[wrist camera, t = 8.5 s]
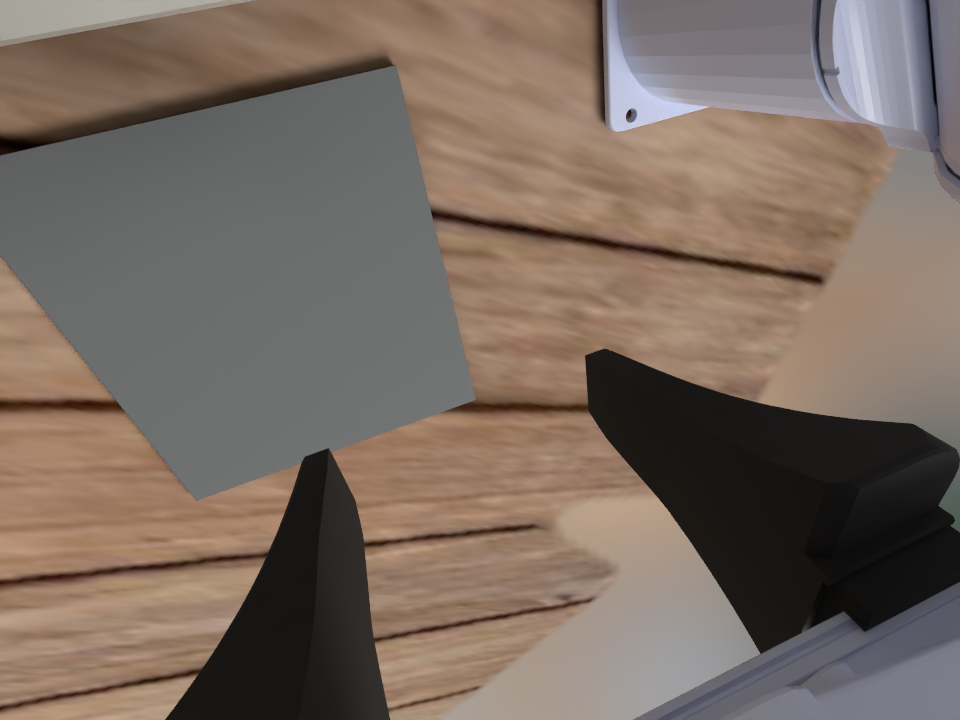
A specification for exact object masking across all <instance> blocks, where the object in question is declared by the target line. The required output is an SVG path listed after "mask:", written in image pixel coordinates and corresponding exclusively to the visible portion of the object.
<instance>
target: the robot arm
mask: <svg viewBox="0 0 960 720" xmlns="http://www.w3.org/2000/svg"><path fill="white" fill-rule="evenodd" d="M602 10H603V49H604V89H605V122H606V126H607V127H608V129H610V130H611V131H615V132H620V131H624V130H628V129H631V128H635V127H639V126H642V125H646V124H649V123H653V122H657V121H660V120H664V119H668V118H671V117H675V116H679V115H682V114H686V113H689V112H693V111H697V110H700V109H704V108H708V107H716V108H725V109H734V110H743V111H753V112H762V113H771V114H780V115H790V116H799V117H808V118H817V119H827V120H836V121H845V122H854V123H863V124H869V125H872V126H876V127H877V128H879V129H880V130H881V131H882V133H883V134H884V136H885V139H886V143H887V145H888V146H890V147H897V148H904V149H911V150H918V151H925V152H933V159H934V168H935V174H936V176H937V178H938V181H939V183H940V185H941V186H942V188H943V189H944V190H945V191H946V192H947V193H948V194H949V195H950V196H951V197H952V198H953V199H955V200H956V201H958V202H959V203H960V0H602ZM630 109H631V113H632V114H631V118H630V119H629V120H628V121H626V113H627V112H628V110H630ZM585 360H586V375H587V391H588V407H589V412H590V414H591V415H592V417H593V418H594V420H595V422H596V423H597V425H598V426H599V428H600V429H601V431H602V432H603V434H604V435H605V437H606V438H607V439H608V441H609V442H610V443H611V444H612V445H613V447H614V448H615V449H616V450H617V451H618V452H619V454H620V455H621V456H622V457H623V458H624V459H625V460H626V462H627V463H628V464H629V465H630V466H631V467H632V468H633V470H634V471H635V472H636V473H637V474H638V475H639V476H640V478H641V479H642V480H643V481H644V482H645V483H646V484H647V486H648V487H649V488H650V489H651V490H652V491H653V492H654V494H655V495H656V496H657V497H658V498H659V499H660V501H661V502H662V503H663V504H664V506H665V507H666V508H667V509H668V511H669V512H670V513H671V515H672V516H673V518H674V519H675V521H676V522H677V523H678V525H679V526H680V527H681V529H682V530H683V532H684V533H685V535H686V536H687V537H688V539H689V540H690V542H691V543H692V545H693V546H694V548H695V549H696V551H697V552H698V554H699V555H700V557H701V558H702V560H703V561H704V563H705V564H706V566H707V567H708V569H709V570H710V572H711V573H712V575H713V576H714V578H715V579H716V581H717V583H718V584H719V586H720V587H721V589H722V591H723V592H724V594H725V595H726V597H727V598H728V600H729V602H730V603H731V604H732V606H733V608H734V610H735V611H736V613H737V615H738V616H739V618H740V620H741V621H742V623H743V625H744V626H745V628H746V630H747V631H748V633H749V635H750V636H751V638H752V639H753V641H754V643H755V645H756V647H757V648H758V650H759V652H760V653H761V654H760V655H758V656H756V657H754V658H752V659H750V660H748V661H746V662H744V663H742V664H740V665H739V666H737V667H734V668H733V669H731V670H729V671H727V672H725V673H723V674H721V675H719V676H717V677H715V678H713V679H711V680H709V681H707V682H705V683H703V684H701V685H700V686H698V687H696V688H694V689H692V690H690V691H688V692H686V693H684V694H682V695H680V696H678V697H676V698H674V699H672V700H670V701H669V702H666V703H664V704H663V705H661V706H659V707H657V708H655V709H653V710H651V711H649V712H647V713H645V714H643V715H641V716H640V717H637V718H635V719H633V720H960V532H958V531H957V530H955V529H954V528H952V527H951V526H950V525H952V524H953V523H954V521H955V519H954V517H953V516H952V515H950V514H949V513H948V512H946V511H945V510H943V509H942V508H940V507H939V506H938V505H939V503H940V501H941V500H942V498H943V496H944V494H945V493H946V491H947V489H948V488H949V486H950V484H951V482H952V481H953V479H954V477H955V475H956V473H957V471H958V468H959V463H960V457H959V454H958V452H957V450H956V449H955V448H953V447H952V446H950V445H948V444H947V443H945V442H943V441H942V440H940V439H938V438H936V437H935V436H933V435H931V434H930V433H928V432H926V431H924V430H923V429H921V428H919V427H917V426H916V425H914V424H908V423H895V422H882V421H870V420H858V419H849V418H841V417H834V416H826V415H819V414H812V413H806V412H800V411H794V410H790V409H784V408H780V407H775V406H769V405H766V404H761V403H757V402H753V401H749V400H745V399H741V398H738V397H734V396H730V395H727V394H723V393H720V392H717V391H714V390H711V389H708V388H705V387H702V386H699V385H696V384H693V383H690V382H687V381H685V380H682V379H679V378H677V377H674V376H671V375H669V374H666V373H664V372H661V371H659V370H656V369H654V368H651V367H649V366H647V365H644V364H642V363H639V362H637V361H635V360H632V359H630V358H628V357H625V356H623V355H620V354H618V353H615V352H613V351H610V350H608V349H602V350H599V351H596V352H594V353H591V354H588V355H585ZM165 720H390V718H389V713H388V708H387V703H386V698H385V693H384V689H383V684H382V679H381V674H380V669H379V664H378V658H377V653H376V648H375V643H374V638H373V630H372V623H371V614H370V603H369V592H368V581H367V570H366V560H365V550H364V540H363V533H362V528H361V524H360V519H359V515H358V510H357V506H356V502H355V499H354V497H353V495H352V493H351V491H350V489H349V487H348V485H347V483H346V481H345V479H344V477H343V475H342V473H341V471H340V469H339V467H338V465H337V463H336V461H335V459H334V457H333V455H332V453H331V451H330V449H329V448H327V449H324V450H322V451H319V452H316V453H313V454H311V455H308V456H305V457H304V459H303V461H302V463H301V467H300V470H299V473H298V476H297V479H296V483H295V486H294V489H293V492H292V494H291V497H290V500H289V503H288V506H287V508H286V511H285V514H284V516H283V519H282V521H281V524H280V527H279V529H278V532H277V534H276V536H275V539H274V541H273V543H272V545H271V548H270V550H269V552H268V554H267V557H266V559H265V561H264V563H263V566H262V568H261V570H260V572H259V574H258V576H257V578H256V580H255V582H254V584H253V586H252V588H251V590H250V591H249V593H248V595H247V597H246V599H245V601H244V602H243V604H242V606H241V608H240V610H239V611H238V613H237V615H236V616H235V618H234V620H233V621H232V623H231V625H230V626H229V628H228V630H227V631H226V633H225V635H224V636H223V638H222V640H221V641H220V643H219V644H218V646H217V648H216V649H215V651H214V652H213V654H212V655H211V657H210V658H209V660H208V661H207V663H206V664H205V666H204V667H203V668H202V670H201V671H200V673H199V674H198V676H197V677H196V678H195V680H194V681H193V683H192V684H191V686H190V687H189V688H188V690H187V691H186V693H185V694H184V695H183V697H182V698H181V699H180V701H179V702H178V704H177V705H176V706H175V708H174V709H173V710H172V711H171V713H170V714H169V715H168V717H167V718H166V719H165Z"/></svg>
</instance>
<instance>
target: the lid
mask: <svg viewBox="0 0 960 720" xmlns="http://www.w3.org/2000/svg"><path fill="white" fill-rule="evenodd" d="M249 1H255V0H0V47H1V46H6V45H12V44H17V43H23V42H28V41H34V40H39V39H45V38H50V37H56V36H61V35H67V34H72V33H78V32H83V31H89V30H94V29H100V28H106V27H111V26H117V25H122V24H128V23H133V22H139V21H144V20H150V19H155V18H161V17H166V16H172V15H177V14H183V13H188V12H194V11H199V10H205V9H210V8H216V7H221V6H227V5H233V4H238V3H244V2H249Z"/></svg>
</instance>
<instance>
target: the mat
mask: <svg viewBox="0 0 960 720" xmlns="http://www.w3.org/2000/svg"><path fill="white" fill-rule="evenodd" d="M0 256H1V257H2V258H3V259H4V261H5V262H6V263H7V264H8V266H9V267H10V268H11V269H12V271H13V272H14V273H15V275H16V276H17V277H18V278H19V280H20V281H21V282H22V283H23V285H24V286H25V287H26V288H27V290H28V291H29V292H30V293H31V295H32V296H33V297H34V298H35V300H36V301H37V302H38V303H39V305H40V306H41V307H42V308H43V310H44V311H45V312H46V313H47V315H48V316H49V317H50V318H51V320H52V321H53V322H54V323H55V325H56V326H57V327H58V328H59V330H60V331H61V332H62V333H63V335H64V336H65V337H66V338H67V340H68V341H69V342H70V343H71V345H72V346H73V347H74V348H75V350H76V351H77V352H78V353H79V355H80V356H81V357H82V358H83V360H84V361H85V362H86V363H87V365H88V366H89V367H90V368H91V370H92V371H93V372H94V373H95V375H96V376H97V377H98V378H99V380H100V381H101V382H102V383H103V385H104V386H105V387H106V388H107V390H108V391H109V392H110V393H111V395H112V396H113V397H114V398H115V400H116V401H117V402H118V403H119V405H120V406H121V407H122V408H123V410H124V411H125V412H126V413H127V415H128V416H129V417H130V418H131V420H132V421H133V422H134V423H135V425H136V426H137V427H138V428H139V430H140V431H141V432H142V433H143V435H144V436H145V437H146V439H147V440H148V441H149V442H150V444H151V445H152V446H153V447H154V449H155V450H156V451H157V452H158V454H159V455H160V456H161V457H162V459H163V460H164V461H165V462H166V464H167V465H168V466H169V467H170V469H171V470H172V471H173V472H174V474H175V475H176V476H177V477H178V479H179V480H180V481H181V482H182V484H183V485H184V486H185V487H186V489H187V490H188V491H189V492H190V494H191V495H192V496H193V497H194V499H195V500H196V501H197V500H200V499H203V498H206V497H208V496H211V495H214V494H217V493H219V492H222V491H225V490H228V489H230V488H233V487H236V486H239V485H241V484H244V483H247V482H250V481H252V480H255V479H258V478H261V477H264V476H266V475H269V474H272V473H275V472H277V471H280V470H283V469H286V468H288V467H291V466H294V465H297V464H299V463H302V461H303V459H304V457H305V456H308V455H311V454H313V453H316V452H319V451H322V450H324V449H327V448H329V449H330V451H331V452H333V451H335V450H338V449H341V448H344V447H346V446H349V445H352V444H355V443H357V442H360V441H363V440H366V439H368V438H371V437H374V436H377V435H380V434H382V433H385V432H388V431H391V430H393V429H396V428H399V427H402V426H404V425H407V424H410V423H413V422H415V421H418V420H421V419H424V418H426V417H429V416H432V415H435V414H438V413H440V412H443V411H446V410H449V409H451V408H454V407H457V406H460V405H462V404H465V403H468V402H471V401H473V400H476V399H475V394H474V390H473V386H472V382H471V378H470V374H469V369H468V365H467V361H466V357H465V353H464V348H463V344H462V340H461V336H460V332H459V327H458V323H457V319H456V315H455V311H454V306H453V302H452V298H451V294H450V290H449V285H448V281H447V277H446V273H445V269H444V264H443V260H442V256H441V252H440V248H439V243H438V239H437V235H436V231H435V227H434V222H433V218H432V214H431V210H430V206H429V201H428V197H427V193H426V189H425V185H424V180H423V176H422V172H421V168H420V164H419V159H418V155H417V151H416V147H415V143H414V138H413V134H412V130H411V126H410V122H409V117H408V113H407V109H406V105H405V101H404V96H403V92H402V88H401V84H400V80H399V75H398V71H397V67H396V65H393V66H389V67H385V68H380V69H376V70H371V71H367V72H363V73H358V74H354V75H350V76H345V77H341V78H336V79H332V80H328V81H323V82H319V83H314V84H310V85H306V86H301V87H297V88H293V89H288V90H284V91H279V92H275V93H271V94H266V95H262V96H257V97H253V98H249V99H244V100H240V101H236V102H231V103H227V104H222V105H218V106H214V107H209V108H205V109H200V110H196V111H192V112H187V113H183V114H179V115H174V116H170V117H165V118H161V119H157V120H152V121H148V122H143V123H139V124H135V125H130V126H126V127H122V128H117V129H113V130H108V131H104V132H100V133H95V134H91V135H87V136H82V137H78V138H73V139H69V140H65V141H60V142H56V143H51V144H47V145H43V146H38V147H34V148H30V149H25V150H21V151H16V152H12V153H8V154H3V155H0Z"/></svg>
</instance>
